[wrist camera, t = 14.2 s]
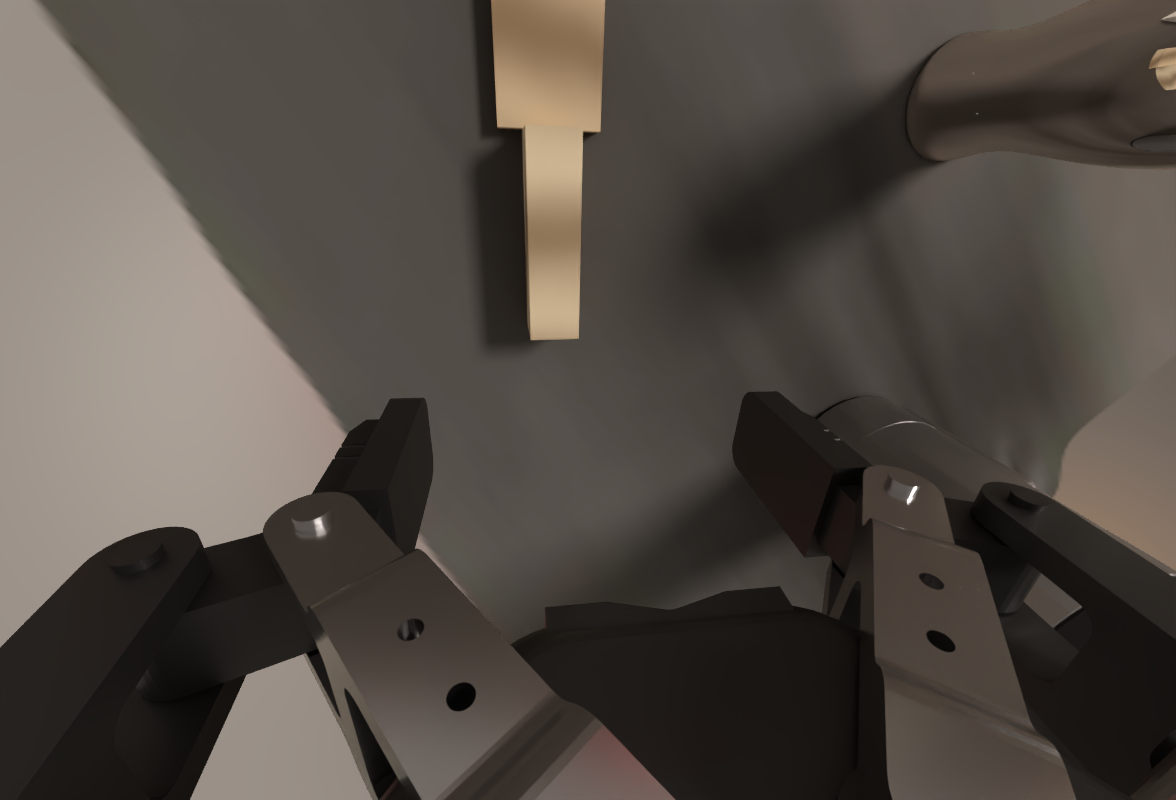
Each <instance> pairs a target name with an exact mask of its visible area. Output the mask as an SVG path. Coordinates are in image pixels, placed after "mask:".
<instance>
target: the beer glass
mask: <svg viewBox="0 0 1176 800" xmlns="http://www.w3.org/2000/svg"><path fill="white" fill-rule="evenodd" d="M906 125H907V132H908V136H909V139H910V142H911V144H912V145H913V147H914V149H915V150H916V151H917V152H918V153H919V154H920V155H921V156H923V157H925V158H927V159H930V160H934V161H948V160H953V159H958V158H962V157H967V156H971V155H975V154H979V153H985V152H995V151H1006V152H1017V153H1024V154H1030V155H1036V156H1041V157H1047V158H1052V159H1058V160H1063V161H1069V162H1075V163H1081V164H1088V165H1096V166H1105V167H1114V168H1123V169H1155V170H1176V0H1090V1H1088V2H1085V3H1083V4H1081V5H1079V6H1077V7H1075V8H1072V9H1070V10H1068V11H1066V12H1063V13H1061V14H1059V15H1056V16H1054V17H1052V18H1049V19H1047V20H1045V21H1042V22H1039V23H1036V24H1033V25H1030V26H1026V27H1021V28H1017V29H1009V30H987V31H975V32H970V33H966V34H963V35H960V36H958V37H956V38H954V39H952V40H951V41H949V42H947V43H946V44H945V45H943V46H942V47H941V48H940V49H939V50H937V51H936V52H935V53H934V54H933V56H932V57H931V58H930V59H929V60H928V61H927V63H926V64H925V66H924V67H923V69H922V70H921V72H920V73H919V75H918V77H917V79H916V81H915V83H914V86H913V88H912V91H911V94H910V97H909V101H908V106H907V114H906Z"/></svg>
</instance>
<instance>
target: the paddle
mask: <svg viewBox="0 0 1176 800" xmlns="http://www.w3.org/2000/svg"><path fill="white" fill-rule="evenodd" d="M491 9H492V30H493V50H494V71H495V91H496V111H497V128H501V129H522V152H523V187H524V221H525V256H526V291H527V324H528V329H529V334H530V339H531V340H552V339H579V294H580V247H581V200H582V152H583V132H586V133H598V132H600V125H601V97H602V69H603V40H604V12H605V0H491Z"/></svg>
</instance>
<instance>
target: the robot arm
mask: <svg viewBox="0 0 1176 800" xmlns="http://www.w3.org/2000/svg"><path fill="white" fill-rule="evenodd" d="M732 453H733V459H734V462H735V465H736V467H737V468H738V470H739V471H740V472H741V474H742V475H743V476H744V478H745V479H746V480H747V482H748V483H749V484H750V486H751V487H752V488H753V490H754V491H755V492H756V494H757V495H758V496H759V498H760V499H761V500H762V502H763V503H764V504H765V506H766V507H767V508H768V510H769V511H770V512H771V514H772V515H773V516H774V518H775V519H776V520H777V522H778V523H779V524H780V526H781V527H782V528H783V530H784V531H785V532H786V534H787V535H788V536H789V538H790V539H791V540H792V542H793V543H794V544H795V546H796V547H797V548H798V549H799V551H800V552H801V553H802V555H803V556H804V557H817V556H829V557H830V558H831V561H830V563H829V566H828V569H827V572H826V580H825V590H824V599H823V608H822V613H819V612H816V611H813V610H810V609H805V608H801V607H797V606H792V605H791V603H790V602H789V600H788V599H787V597H786V596H785V594H784V593H783V591H782V589H781V588H780V586H778V587H767V588H756V589H745V590H734V591H725V592H722V593H719V594H716V595H714V596H711V597H708V598H705V599H703V600H700V601H697V602H694V603H691V604H689V605H686V606H683V607H680V608H677V609H673V610H665V609H657V608H649V607H641V606H634V605H626V604H618V603H611V602H600V603H589V604H578V605H567V606H555V607H545V628H544V629H541V630H538V631H535V632H533V633H531V634H529V635H527V636H525V637H523V638H521V639H519V640H517V641H516V642H514V643H512V644H511V645H510V644H509V643H508V642H507V641H506V640H505V638H504V637H503V636H502V635H501V634H500V633H499V632H498V631H497V630H496V629H495V628H494V627H493V626H492V624H491V623H490V622H489V621H488V620H487V619H486V618H485V617H484V616H483V615H482V614H481V613H480V611H479V610H478V609H477V608H476V607H475V606H474V605H473V604H472V603H471V602H470V601H469V600H468V599H467V597H466V596H465V595H464V594H463V593H462V592H461V591H460V590H459V589H458V588H457V587H456V586H455V585H454V583H453V582H452V581H451V580H450V579H449V578H448V577H447V576H446V575H445V574H444V573H443V572H442V571H441V569H440V568H439V567H438V566H437V565H436V564H435V563H434V562H433V561H432V560H431V559H430V558H429V557H428V555H426V554H425V553H424V552H423V551H422V550H420V549H415V546H416V541H417V538H418V534H419V530H420V526H421V522H422V518H423V514H424V510H425V506H426V502H427V498H428V494H429V490H430V486H431V482H432V476H433V453H432V444H431V436H430V427H429V418H428V410H427V404H426V400H425V398H394V399H390V400H389V402H388V404H387V406H386V408H385V410H384V412H383V414H382V415H381V417H380V419H376V420H365V421H364V422H363V423H361V424H360V425H358V426H357V427H355V428H354V429H353V430H351V431H350V432H349V434H348V435H347V437H346V439H345V440H344V442H343V443H342V448H339V450H338V452H337V453H336V455H335V459H333V460H332V462H331V463H330V465H329V467H328V468H327V470H326V472H325V473H324V475H323V476H322V478H321V480H320V481H319V483H318V485H317V486H316V488H315V490H314V491H313V493H312V494H311V495H307V496H304V497H301V498H298V499H296V500H294V501H291V502H290V503H288V504H286V505H284V506H283V507H281V508H280V509H278V510H277V511H276V512H275V513H273V514H272V515H271V516H270V518H269V519H268V520H267V522H266V523H265V525H264V528H263V533H260V534H257V535H254V536H250V537H246V538H243V539H238V540H234V541H230V542H227V543H223V544H219V545H215V546H211V547H207V548H204V547H203V545H202V543H201V540H200V538H199V536H198V534H197V533H196V532H195V531H193V530H191V529H188V528H184V527H165V528H157V529H153V530H149V531H145V532H141V533H138V534H135V535H132V536H130V537H127V538H124V539H122V540H120V541H118V542H116V543H114V544H112V545H110V546H108V547H106V548H104V549H103V550H102V551H100V552H98V553H96V554H95V555H94V556H92V557H91V558H89V559H88V560H87V561H86V562H85V563H84V564H83V565H82V566H81V567H80V568H78V570H77V571H76V572H75V573H74V574H73V575H72V576H71V577H70V578H69V579H68V580H67V581H66V582H65V583H64V584H63V585H62V586H61V587H60V588H59V589H58V590H57V591H56V592H55V593H54V594H53V595H52V596H51V597H50V598H49V599H48V600H47V601H46V602H45V603H44V604H43V605H42V606H41V607H40V608H39V609H38V610H37V611H36V612H35V613H34V614H33V615H32V616H31V617H30V618H29V619H28V620H27V621H26V622H25V623H24V624H23V625H22V626H21V627H20V628H19V629H18V630H17V631H16V632H15V633H14V634H13V635H12V636H11V637H10V638H9V639H8V640H7V641H6V642H5V643H4V644H3V645H2V646H1V648H0V800H190V798H191V796H192V794H193V791H194V789H195V787H196V785H197V783H198V780H199V778H200V776H201V774H202V771H203V769H204V766H205V765H206V763H207V760H208V758H209V756H210V754H211V752H212V750H213V747H214V745H215V743H216V741H217V738H218V736H219V734H220V732H221V730H222V727H223V725H224V723H225V721H226V719H227V716H228V714H229V712H230V710H231V708H232V705H233V703H234V701H235V699H236V697H237V694H238V692H239V690H240V688H241V686H242V683H243V681H244V679H245V677H246V675H247V674H250V673H252V672H255V671H258V670H261V669H263V668H266V667H269V666H272V665H274V664H277V663H280V662H283V661H285V660H288V659H291V658H294V657H296V656H299V655H302V654H304V657H305V659H306V661H307V663H308V665H309V667H310V669H311V671H312V673H313V675H314V677H315V679H316V680H317V683H318V684H319V686H320V688H321V690H322V692H323V694H324V696H325V698H326V700H327V702H328V704H329V706H330V708H331V710H332V712H333V714H334V716H335V718H336V720H337V722H338V724H339V726H340V728H341V730H342V732H343V734H344V736H345V738H346V741H347V743H348V745H349V747H350V750H351V752H352V755H353V757H354V760H355V762H356V764H357V767H358V770H359V772H360V774H361V776H362V779H363V781H364V783H365V785H366V787H367V789H368V791H369V793H370V795H371V798H372V799H373V800H1176V570H1174V569H1172V568H1171V567H1169V566H1167V565H1166V564H1164V563H1162V562H1161V561H1159V560H1157V559H1155V558H1154V557H1152V556H1150V555H1149V554H1147V553H1145V552H1144V551H1142V550H1140V549H1139V548H1137V547H1135V546H1133V545H1132V544H1130V543H1128V542H1127V541H1125V540H1123V539H1121V538H1120V537H1118V536H1117V535H1115V534H1113V533H1111V532H1110V531H1108V530H1106V529H1104V528H1102V527H1101V526H1099V525H1097V524H1096V523H1094V522H1092V521H1091V520H1089V519H1087V518H1085V517H1084V516H1082V515H1080V514H1079V513H1077V512H1075V511H1074V510H1072V509H1070V508H1069V507H1067V506H1065V505H1064V504H1062V503H1060V502H1059V501H1057V500H1055V499H1053V498H1052V497H1050V496H1048V495H1047V494H1045V493H1043V492H1042V491H1040V490H1038V489H1037V488H1036V486H1035V484H1034V483H1033V482H1032V481H1031V480H1030V479H1028V478H1026V477H1024V476H1023V475H1021V474H1019V473H1018V472H1016V471H1014V470H1012V469H1011V468H1009V467H1007V466H1006V465H1004V464H1002V463H1000V462H999V461H997V460H995V459H993V458H992V457H990V456H988V455H987V454H985V453H983V452H981V451H980V450H978V449H976V448H975V447H973V446H971V445H969V444H968V443H966V442H964V441H963V440H961V439H959V438H957V437H956V436H954V435H952V434H951V433H949V432H947V431H945V430H944V429H942V428H940V427H939V426H937V425H935V424H933V423H932V422H930V421H928V420H926V419H925V418H923V417H921V416H920V415H918V414H916V413H914V412H913V411H905V410H904V409H902V408H900V407H898V406H897V405H895V404H893V403H892V402H890V401H888V400H886V399H883V398H879V397H873V396H868V397H858V398H854V399H850V400H847V401H845V402H843V403H841V404H838V405H836V406H835V407H833V408H831V409H830V410H828V411H827V412H825V413H824V414H823V415H822V416H821V417H819V418H818V419H816V418H814V417H812V416H810V415H808V414H806V413H804V412H802V411H801V410H799V409H798V408H797V407H796V406H795V405H793V404H792V403H791V402H790V401H789V400H787V399H786V398H785V397H784V396H783V395H782V394H780V393H779V392H776V391H774V392H748V393H746V394H745V396H744V397H743V400H742V404H741V408H740V413H739V417H738V422H737V427H736V431H735V436H734V440H733V446H732Z"/></svg>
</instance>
